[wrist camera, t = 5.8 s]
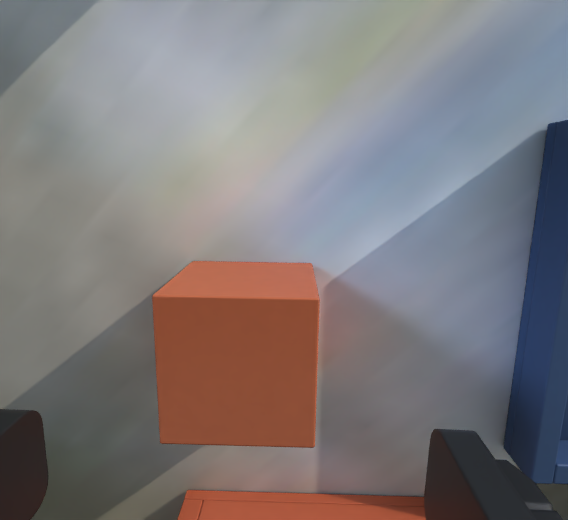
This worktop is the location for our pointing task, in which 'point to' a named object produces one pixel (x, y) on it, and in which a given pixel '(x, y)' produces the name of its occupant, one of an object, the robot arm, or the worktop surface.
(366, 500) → the terracotta tray
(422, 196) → the worktop surface
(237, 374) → the terracotta block
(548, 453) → the blue tray
